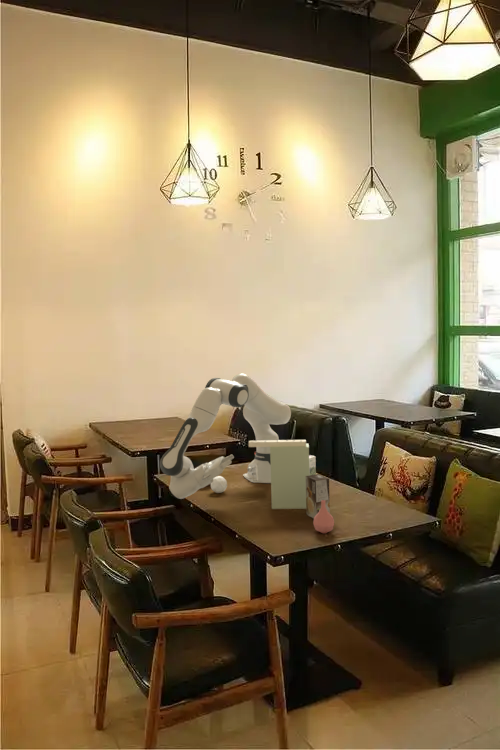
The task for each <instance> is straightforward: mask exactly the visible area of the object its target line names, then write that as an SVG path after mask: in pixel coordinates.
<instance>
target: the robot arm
mask: <svg viewBox="0 0 500 750" xmlns="http://www.w3.org/2000/svg"><path fill="white" fill-rule="evenodd" d="M253 379H254V378H253ZM253 379H252V377H251V376H248V375H247V374H245V373H238V374H236V375H235V376H233V378H232V379H231V380H228V379H223V378H220V377H214V378H211V379H210V380H209V381H207V383H206V385H205V386H204V388H203V389H202V390H201V392H200V393H199V395H198V396H197V398H196V400H195V402H194V404H193V406H192V408H191V410H190V413H189V414H188V417H187V418H186V419H185V421H184V422H183V424H182V425H181V427H180V429H179V430H178V432H177V435H176V436H175V438H174V440H173V442H172V443H171V445H170V447H169V449H167V451H165V453H164V454H163V455H162V457H160V460H159V467H160V470H161V472H162V473H163V474H164V475H166V476H170V482H169V486H168V488H169V491H170V493H171V495H173V496H174V497H175V498H177V499H180V500H182V499H183V500H184V499H185V498H187V497H190V496H191V495H193V494H195V493H196V492H197V491H199V490H200V489H203V488H205V487H207V486H210V485H209V484H210V483H212V482H213V478H215V477H217V476H221V474H222V473H223V472H224V470H225V468H227V467H228V466H229V465H231V464H232V460H233V459H234V458H235V456H234V455H233V454H230V455H228V456H226V457H225V456H219V457H217V458H215V459H212V460H211V461H209V462H204V463H202V464H200V465H198V466H196V467H194V464H193V462H192V460H191V458H190V457H187V456H185V453H186V451H187V449H188V447H189V445H190V443H191V441H192V439H193V438H194V437H195V436H196V435H197V434H200V433H203V432H207V431H208V430H210V428H211V427H212V425H213V424H214V422H215V420H216V419H217V415H218V413H219V410H220V406H221V405H225V406H228V407H232V408H242V407H243V408H242V409H243V410H242V413H243V414H242V415H243V418H244V419H245V420H246V421H247V422H248V423H249V424H250V426H251V427H252V430H253V432H254V436H255V440H280V439H279V434H277V433H276V432H275V431H274V430H273V429H272V427H271V426H270V425H276V426H278V425H285V424H287V423H289V421H290V419H291V415H292V409H291V408H290V406H289V405H288V404H286V403H284V402H281V401H279V400H277V399H275V398H274V397H273V396H270V395H269V394H267V393H266V392H265V391H264V390H263V389H262V388H261V387H260V386H259V385H258V383H257V382H256V381H255V380H253ZM255 448H256V451H254V459H253V460H252V461H251V462H250V463H248V465H247V469H246V471H247V472H246V473H243V474H242V477H243V476H244V477H243V478H245V479H246V480H248V481H249V482H251V483H255V484H256V483H258V484H259V483H262V484H271V460H270V447H255Z"/></svg>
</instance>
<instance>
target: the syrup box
mask: <svg viewBox="0 0 500 750" xmlns="http://www.w3.org/2000/svg"><path fill="white" fill-rule="evenodd" d="M316 458H317V457H316V456H315V455H311V454H309V476H310V475H316V474H317V470H316V468H317V466H316V462H317V460H316Z"/></svg>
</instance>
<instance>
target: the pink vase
mask: <svg viewBox="0 0 500 750" xmlns="http://www.w3.org/2000/svg"><path fill="white" fill-rule="evenodd" d="M312 522H313V523H312V524H313V528H314V530H315V531H316V532H320V533H321V534H327V533H328V532H331V531H333V529H334V526H335V520H334V517H333V516H332V514H331V512H330V513H329V512H328V511H327V509H326V507H325V500H322V501H321V509H320V511H319V513H318V514H317V515H316V516H315V517H314V518H313V521H312Z"/></svg>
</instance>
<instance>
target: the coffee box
mask: <svg viewBox="0 0 500 750" xmlns="http://www.w3.org/2000/svg"><path fill="white" fill-rule="evenodd" d="M305 477H306V509H305V511H306V515H307V516H308V517H310V518H312V519H314V517H315V516H316V515H317V514H318V513H319V511H320V509H321V501H322V500H325V507H326V509H327V511H328V512H329V513H330V514H331V508H330V505H331V504H330V499H331V498H330V478H328V477H326V476H323V475H321V474H319V473H318V474H317V473H316V475H310V476H305Z"/></svg>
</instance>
